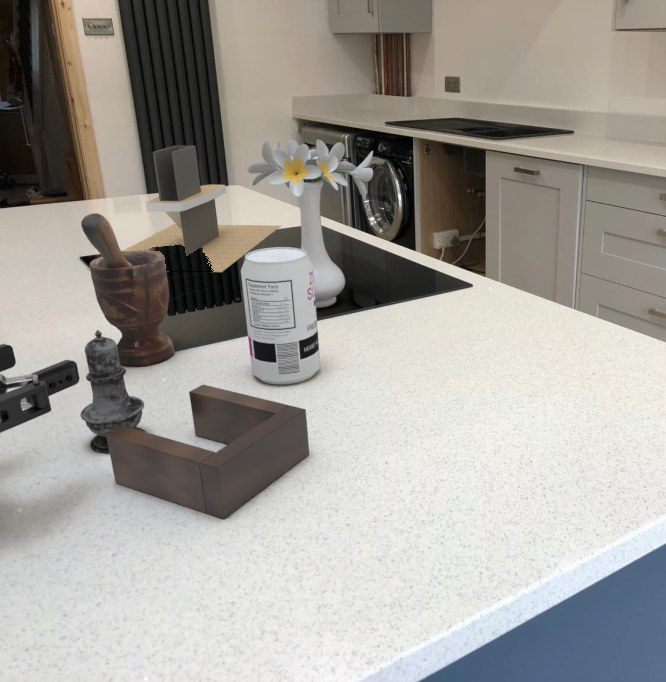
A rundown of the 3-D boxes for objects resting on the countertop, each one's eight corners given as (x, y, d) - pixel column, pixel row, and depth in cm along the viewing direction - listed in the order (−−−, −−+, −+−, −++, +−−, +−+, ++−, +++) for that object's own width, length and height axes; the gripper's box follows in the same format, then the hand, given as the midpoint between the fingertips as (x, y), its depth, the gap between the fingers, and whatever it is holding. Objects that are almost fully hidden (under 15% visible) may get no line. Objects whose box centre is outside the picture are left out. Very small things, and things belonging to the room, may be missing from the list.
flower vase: (389, 304, 115) (383, 140, 106) (272, 322, 107) (256, 147, 98) (360, 282, 126) (353, 132, 117) (252, 298, 118) (235, 138, 109)
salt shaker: (75, 444, 74) (50, 332, 70) (127, 421, 79) (108, 315, 74) (109, 460, 71) (85, 345, 67) (161, 436, 75) (143, 326, 71)
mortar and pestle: (179, 373, 90) (154, 212, 83) (102, 383, 88) (70, 217, 80) (178, 341, 100) (156, 194, 93) (110, 349, 98) (82, 199, 90)
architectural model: (173, 224, 169) (161, 136, 162) (281, 225, 168) (273, 136, 161) (86, 269, 134) (65, 159, 127) (221, 272, 132) (208, 160, 125)
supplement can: (241, 371, 91) (227, 253, 85) (300, 354, 96) (291, 242, 90) (271, 392, 85) (258, 268, 80) (333, 374, 90) (325, 255, 85)
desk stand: (115, 483, 67) (105, 434, 65) (209, 427, 77) (203, 384, 75) (224, 519, 62) (217, 468, 60) (309, 454, 72) (306, 408, 70)
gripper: (-120, 414, 48) (90, 335, 62) (-234, 376, 54) (-18, 311, 67) (-89, 511, 51) (106, 414, 64) (-200, 465, 57) (0, 385, 70)
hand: (42, 361), depth 66 cm, fingers open, 8 cm apart
